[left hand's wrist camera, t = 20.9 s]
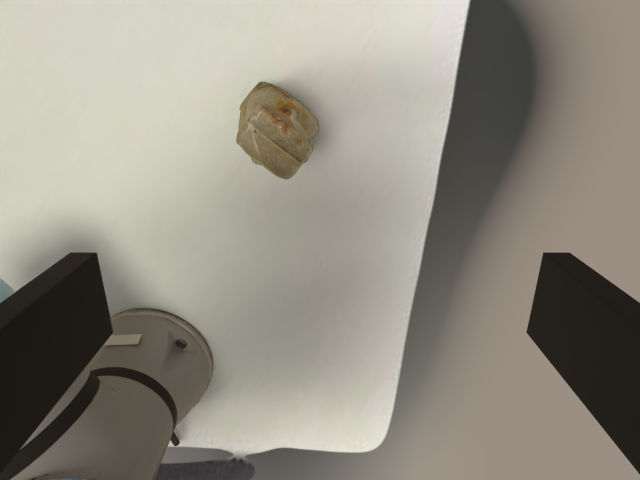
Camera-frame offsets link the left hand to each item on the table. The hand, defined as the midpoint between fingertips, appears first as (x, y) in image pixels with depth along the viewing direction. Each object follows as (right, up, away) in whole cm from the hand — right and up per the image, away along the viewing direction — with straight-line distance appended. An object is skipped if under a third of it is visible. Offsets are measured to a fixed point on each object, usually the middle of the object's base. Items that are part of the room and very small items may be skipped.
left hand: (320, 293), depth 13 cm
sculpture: (-4, +14, +30) cm, 34 cm away
